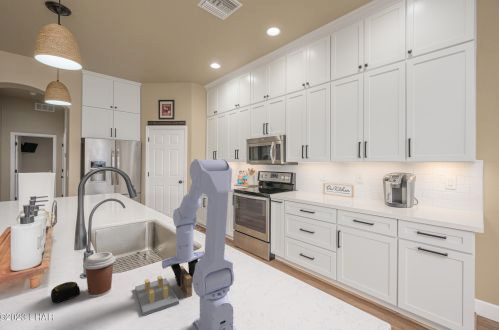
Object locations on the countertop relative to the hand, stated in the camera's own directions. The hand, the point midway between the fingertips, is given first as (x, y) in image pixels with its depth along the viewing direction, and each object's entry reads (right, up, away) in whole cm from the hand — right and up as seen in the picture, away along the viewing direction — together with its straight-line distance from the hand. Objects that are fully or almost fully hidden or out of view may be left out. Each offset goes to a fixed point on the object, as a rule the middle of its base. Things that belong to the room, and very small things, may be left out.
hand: (184, 283), depth 78 cm
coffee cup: (-28, -2, -2) cm, 28 cm away
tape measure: (-36, -2, -5) cm, 36 cm away
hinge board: (-8, -2, -4) cm, 9 cm away
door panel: (0, -2, 0) cm, 2 cm away
